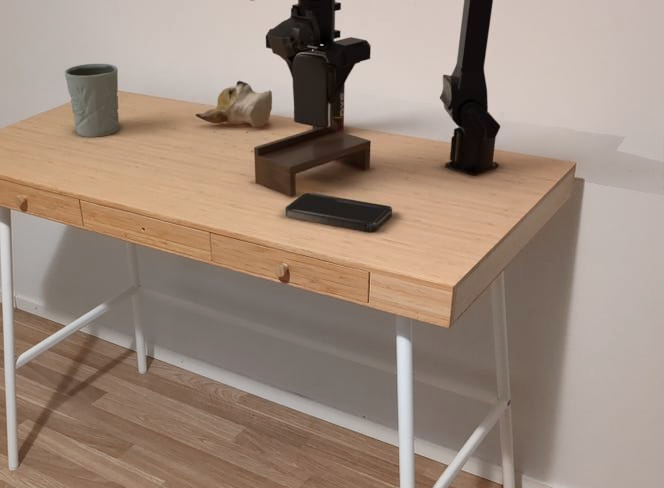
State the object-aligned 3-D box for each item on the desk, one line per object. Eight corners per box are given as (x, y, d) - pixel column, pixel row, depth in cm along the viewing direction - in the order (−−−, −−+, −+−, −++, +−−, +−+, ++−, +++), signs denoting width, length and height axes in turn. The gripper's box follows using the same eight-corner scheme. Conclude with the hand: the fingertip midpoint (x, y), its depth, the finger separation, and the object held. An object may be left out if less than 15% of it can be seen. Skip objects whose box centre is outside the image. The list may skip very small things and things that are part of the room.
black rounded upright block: (340, 123, 147) (340, 51, 141) (327, 129, 144) (327, 56, 138) (305, 117, 151) (304, 47, 145) (292, 123, 148) (290, 52, 142)
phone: (374, 225, 130) (282, 209, 137) (373, 233, 131) (283, 215, 138) (394, 206, 136) (306, 191, 143) (394, 213, 136) (306, 198, 143)
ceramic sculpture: (256, 89, 167) (190, 86, 174) (259, 135, 171) (195, 130, 179) (284, 75, 174) (219, 73, 182) (286, 120, 179) (223, 116, 186)
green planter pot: (63, 134, 179) (54, 73, 173) (94, 120, 186) (87, 60, 180) (103, 140, 174) (95, 77, 168) (134, 125, 181) (127, 65, 175)
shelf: (369, 169, 153) (371, 133, 150) (290, 197, 144) (289, 160, 141) (333, 156, 159) (333, 122, 156) (255, 183, 151) (253, 147, 147)
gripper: (237, -2, 140) (241, 98, 148) (319, 13, 127) (318, 122, 135) (291, -13, 145) (292, 84, 153) (374, 0, 132) (371, 106, 140)
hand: (316, 99), depth 145 cm, fingers closed on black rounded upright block, 7 cm apart
